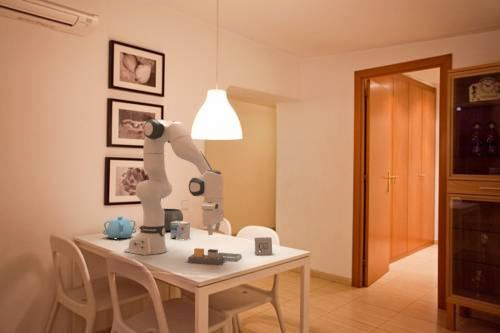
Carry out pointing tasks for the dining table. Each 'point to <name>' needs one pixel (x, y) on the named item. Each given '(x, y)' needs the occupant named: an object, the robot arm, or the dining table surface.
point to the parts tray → (230, 256)
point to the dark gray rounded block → (172, 217)
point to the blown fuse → (212, 253)
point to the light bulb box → (180, 230)
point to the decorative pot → (119, 228)
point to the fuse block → (206, 260)
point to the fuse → (198, 252)
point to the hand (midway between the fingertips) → (213, 233)
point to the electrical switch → (263, 246)
